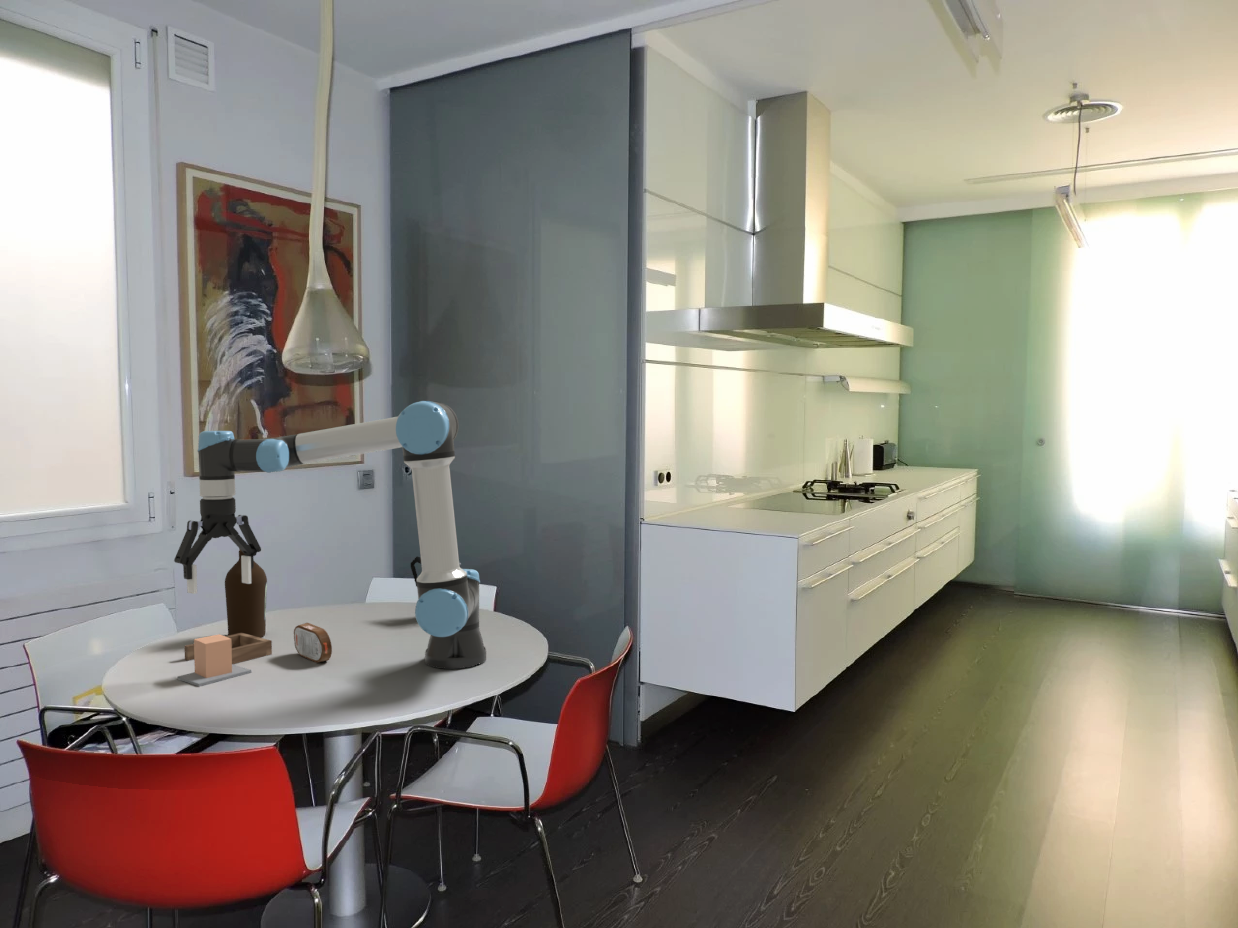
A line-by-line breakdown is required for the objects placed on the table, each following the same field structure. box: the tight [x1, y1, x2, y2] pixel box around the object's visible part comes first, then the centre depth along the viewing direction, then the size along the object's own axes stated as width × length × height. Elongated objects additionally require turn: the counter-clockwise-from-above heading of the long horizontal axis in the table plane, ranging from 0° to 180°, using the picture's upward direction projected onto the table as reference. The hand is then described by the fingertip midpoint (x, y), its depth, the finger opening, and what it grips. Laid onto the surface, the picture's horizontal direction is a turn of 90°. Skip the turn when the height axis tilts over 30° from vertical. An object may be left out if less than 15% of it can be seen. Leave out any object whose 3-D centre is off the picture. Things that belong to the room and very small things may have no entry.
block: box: [193, 633, 232, 678], centre depth 207 cm, size 6×6×8 cm
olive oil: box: [224, 547, 268, 638], centre depth 241 cm, size 11×11×25 cm
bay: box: [183, 633, 273, 665], centre depth 222 cm, size 13×16×4 cm
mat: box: [176, 664, 252, 687], centre depth 207 cm, size 9×13×1 cm
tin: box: [293, 622, 333, 664], centre depth 221 cm, size 15×3×8 cm, turn 47°
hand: (220, 588), depth 206 cm, fingers open, 13 cm apart
